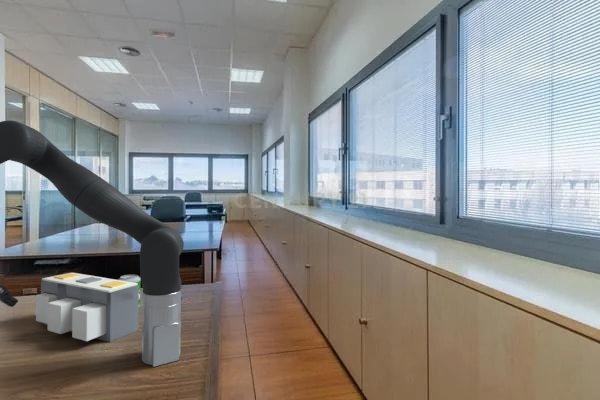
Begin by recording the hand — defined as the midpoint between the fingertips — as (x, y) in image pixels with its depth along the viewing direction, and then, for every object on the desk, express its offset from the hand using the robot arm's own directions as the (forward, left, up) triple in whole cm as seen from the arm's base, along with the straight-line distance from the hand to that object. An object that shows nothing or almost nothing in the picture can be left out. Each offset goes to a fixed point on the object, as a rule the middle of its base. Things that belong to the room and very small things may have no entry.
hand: (14, 303), depth 98 cm
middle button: (-5, -13, -8) cm, 16 cm away
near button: (-15, -19, -8) cm, 25 cm away
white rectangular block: (+6, -10, -8) cm, 14 cm away
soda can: (+8, -31, -10) cm, 34 cm away
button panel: (-3, -17, -10) cm, 20 cm away
